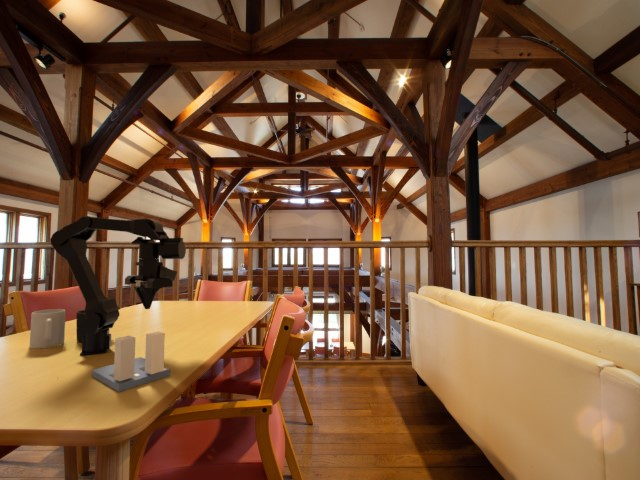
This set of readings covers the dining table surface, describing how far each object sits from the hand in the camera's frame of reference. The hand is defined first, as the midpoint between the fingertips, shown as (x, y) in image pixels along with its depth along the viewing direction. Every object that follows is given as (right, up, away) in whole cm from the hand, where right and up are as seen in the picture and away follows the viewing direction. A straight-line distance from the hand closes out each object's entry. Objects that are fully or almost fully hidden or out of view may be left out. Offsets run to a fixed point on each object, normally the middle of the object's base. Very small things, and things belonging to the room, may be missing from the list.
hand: (147, 308), depth 95 cm
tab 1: (+9, -10, -25) cm, 28 cm away
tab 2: (+14, -10, -21) cm, 27 cm away
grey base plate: (+7, -12, -19) cm, 24 cm away
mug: (-34, -13, +4) cm, 37 cm away
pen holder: (-26, -14, +11) cm, 31 cm away
